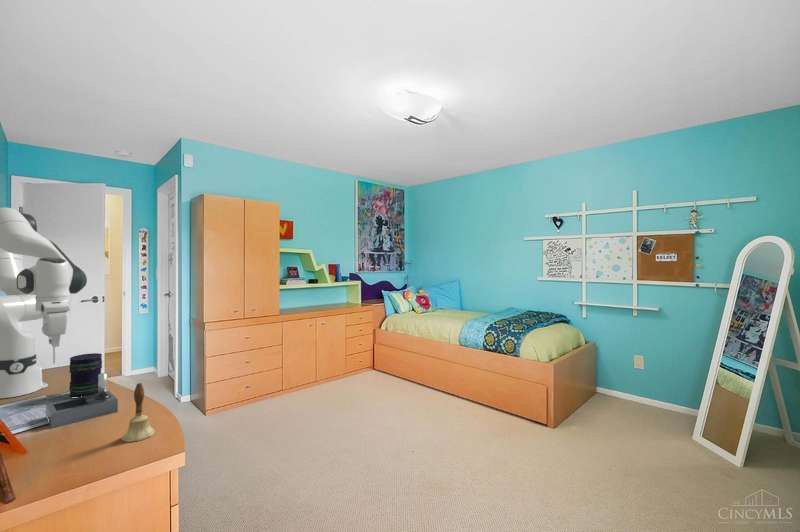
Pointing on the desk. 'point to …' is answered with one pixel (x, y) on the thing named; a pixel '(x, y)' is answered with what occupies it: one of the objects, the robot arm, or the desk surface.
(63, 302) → the robot arm
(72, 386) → the storage jar
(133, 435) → the hand bell
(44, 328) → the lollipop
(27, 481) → the desk surface
